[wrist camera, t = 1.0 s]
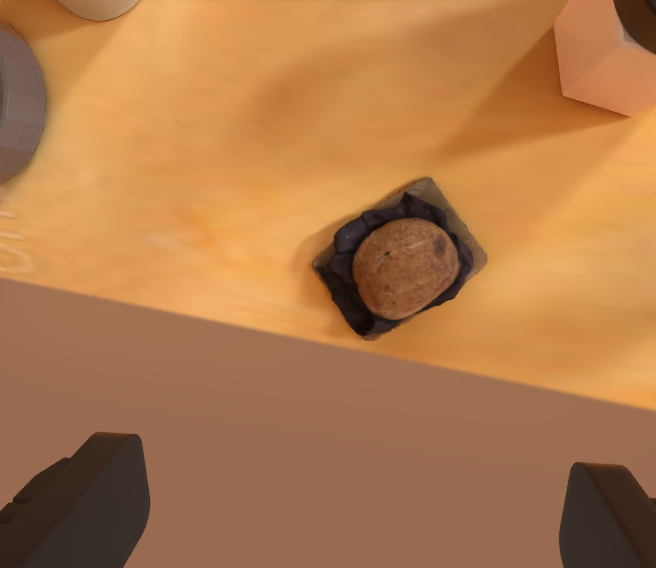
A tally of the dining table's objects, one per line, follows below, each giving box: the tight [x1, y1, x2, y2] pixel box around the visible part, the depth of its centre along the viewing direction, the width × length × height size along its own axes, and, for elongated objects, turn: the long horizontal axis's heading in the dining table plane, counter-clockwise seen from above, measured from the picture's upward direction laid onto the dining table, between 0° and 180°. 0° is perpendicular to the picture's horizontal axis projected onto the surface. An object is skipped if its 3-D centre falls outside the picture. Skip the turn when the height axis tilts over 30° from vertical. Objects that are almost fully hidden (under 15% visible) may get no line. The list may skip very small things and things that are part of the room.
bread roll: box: [312, 177, 487, 341], centre depth 33 cm, size 11×8×4 cm
